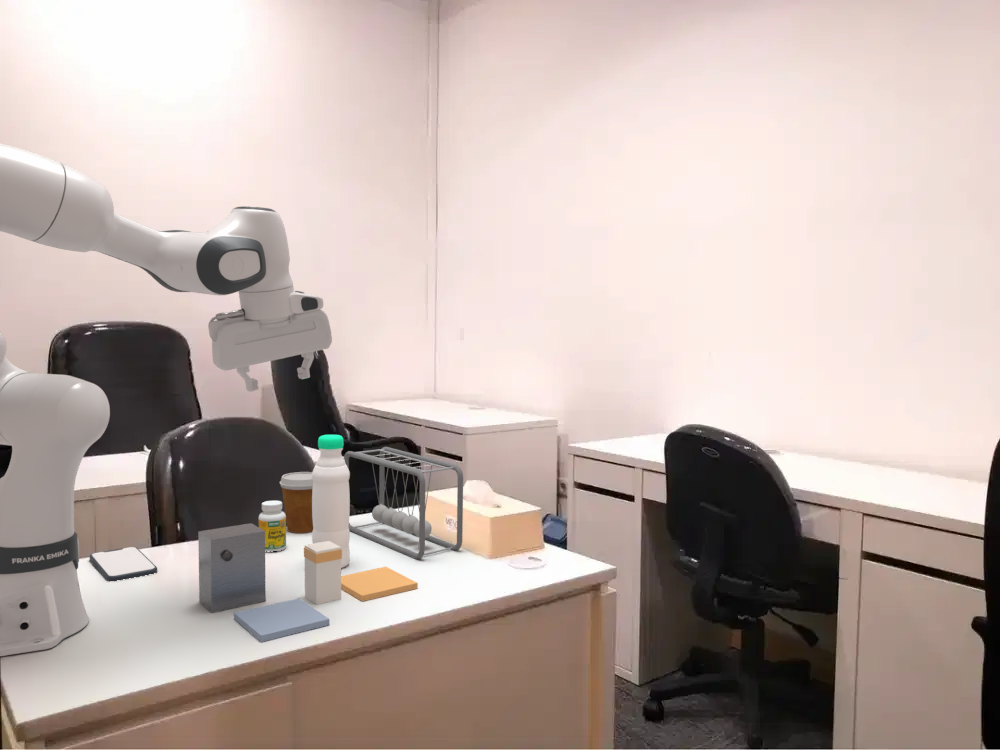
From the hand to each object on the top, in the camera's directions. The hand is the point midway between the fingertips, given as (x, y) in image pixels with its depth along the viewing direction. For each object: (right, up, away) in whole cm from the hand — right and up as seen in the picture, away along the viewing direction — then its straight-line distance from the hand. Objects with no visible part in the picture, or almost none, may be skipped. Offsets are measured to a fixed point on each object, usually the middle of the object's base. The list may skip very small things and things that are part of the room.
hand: (278, 384), depth 140 cm
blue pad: (+4, -37, -12) cm, 39 cm away
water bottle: (+6, -35, +16) cm, 39 cm away
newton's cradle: (+17, -34, +34) cm, 51 cm away
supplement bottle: (-8, -34, +26) cm, 44 cm away
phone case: (-33, -35, +14) cm, 50 cm away
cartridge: (+8, -36, -1) cm, 37 cm away
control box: (-7, -36, -3) cm, 37 cm away
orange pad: (+16, -36, +5) cm, 40 cm away
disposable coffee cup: (-6, -33, +41) cm, 52 cm away
